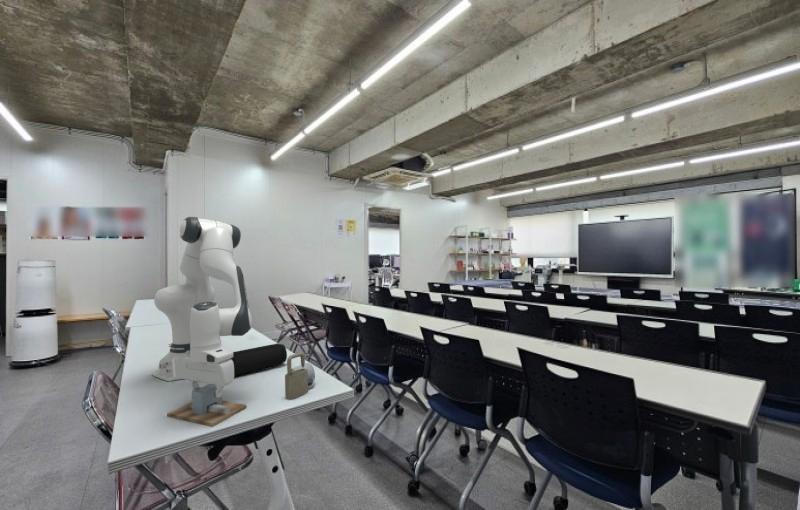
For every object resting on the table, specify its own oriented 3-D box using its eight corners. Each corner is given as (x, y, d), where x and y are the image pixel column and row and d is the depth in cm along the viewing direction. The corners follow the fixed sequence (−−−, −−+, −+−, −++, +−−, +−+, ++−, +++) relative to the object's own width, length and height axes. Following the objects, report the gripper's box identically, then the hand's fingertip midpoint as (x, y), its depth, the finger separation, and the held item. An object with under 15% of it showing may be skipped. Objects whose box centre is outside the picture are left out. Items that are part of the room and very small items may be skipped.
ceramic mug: (287, 385, 135) (287, 365, 134) (306, 379, 140) (306, 360, 140) (300, 393, 127) (299, 372, 127) (319, 386, 132) (319, 367, 132)
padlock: (309, 392, 127) (308, 351, 127) (291, 400, 120) (290, 357, 120) (302, 389, 129) (301, 350, 129) (284, 397, 123) (282, 355, 122)
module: (192, 413, 110) (192, 391, 110) (213, 403, 117) (212, 382, 117) (201, 415, 108) (201, 392, 108) (222, 404, 115) (221, 384, 115)
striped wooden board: (167, 416, 110) (166, 408, 110) (203, 399, 122) (203, 392, 122) (212, 426, 103) (212, 418, 103) (246, 408, 115) (246, 400, 115)
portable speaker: (279, 361, 165) (278, 340, 165) (288, 366, 158) (287, 344, 157) (221, 375, 148) (220, 351, 148) (227, 381, 141) (227, 356, 140)
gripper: (174, 352, 113) (175, 394, 113) (220, 358, 106) (221, 403, 106) (192, 347, 119) (193, 387, 119) (237, 352, 112) (238, 395, 112)
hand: (207, 394), depth 113 cm, fingers open, 8 cm apart
